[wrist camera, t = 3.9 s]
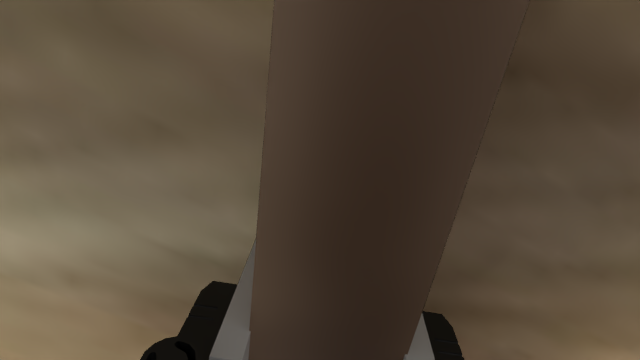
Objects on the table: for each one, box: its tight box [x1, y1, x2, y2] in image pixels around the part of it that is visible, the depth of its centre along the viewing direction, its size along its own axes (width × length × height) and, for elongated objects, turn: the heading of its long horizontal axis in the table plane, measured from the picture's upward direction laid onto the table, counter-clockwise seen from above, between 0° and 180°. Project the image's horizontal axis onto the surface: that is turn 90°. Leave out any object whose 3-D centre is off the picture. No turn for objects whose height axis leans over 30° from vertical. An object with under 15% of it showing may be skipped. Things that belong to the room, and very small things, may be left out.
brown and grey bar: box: [248, 0, 530, 360], centre depth 12 cm, size 4×28×6 cm, turn 172°
